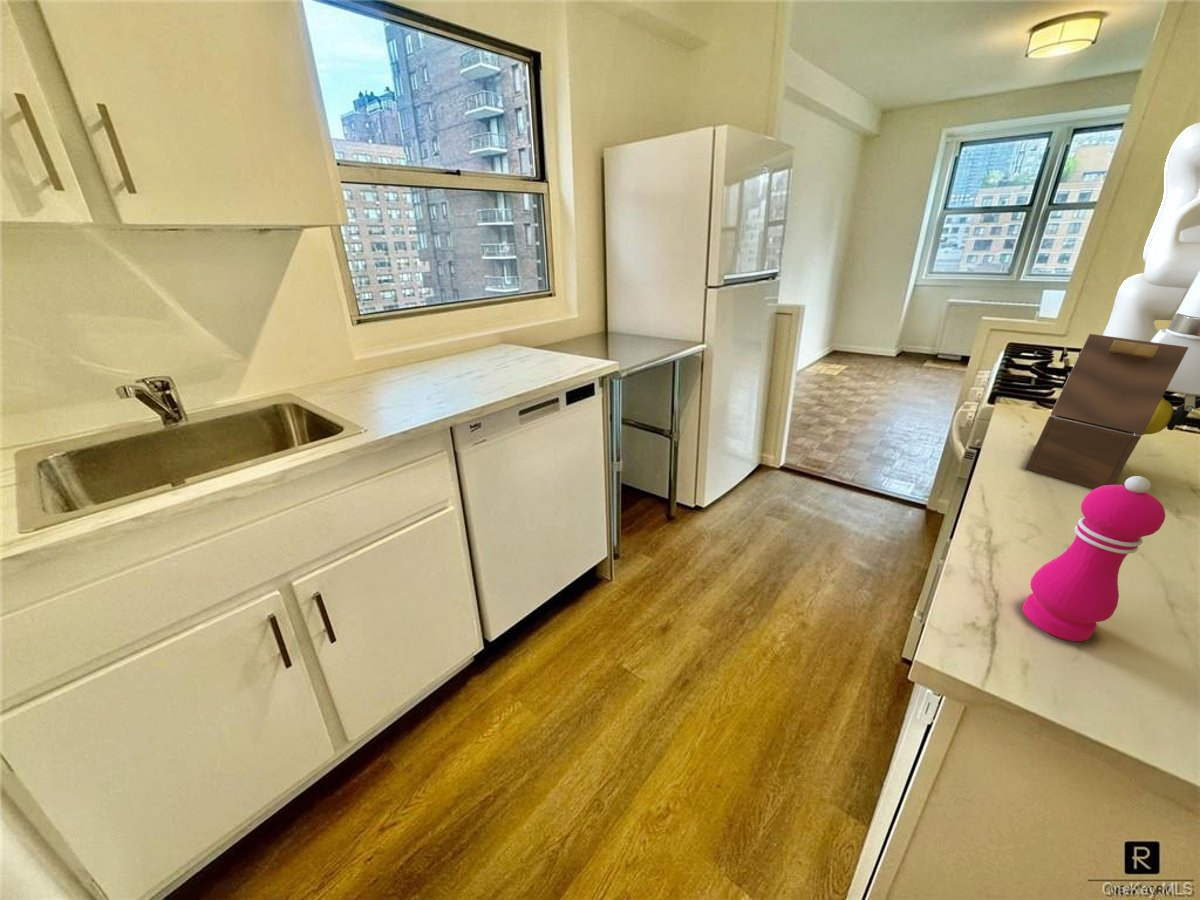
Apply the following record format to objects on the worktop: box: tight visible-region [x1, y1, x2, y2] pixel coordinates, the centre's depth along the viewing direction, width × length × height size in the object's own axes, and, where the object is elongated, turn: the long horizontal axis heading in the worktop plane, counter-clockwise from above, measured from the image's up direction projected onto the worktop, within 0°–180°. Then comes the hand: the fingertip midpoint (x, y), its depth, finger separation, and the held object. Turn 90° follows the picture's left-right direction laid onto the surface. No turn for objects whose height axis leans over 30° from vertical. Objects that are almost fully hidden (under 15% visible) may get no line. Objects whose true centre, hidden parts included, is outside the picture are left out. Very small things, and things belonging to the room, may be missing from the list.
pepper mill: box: [1022, 475, 1166, 642], centre depth 53 cm, size 7×7×20 cm
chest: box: [1024, 414, 1142, 490], centre depth 89 cm, size 14×12×11 cm
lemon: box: [1141, 396, 1175, 437], centre depth 90 cm, size 6×6×8 cm
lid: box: [1050, 333, 1189, 436], centre depth 79 cm, size 14×12×6 cm
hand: (1146, 421), depth 91 cm, fingers closed on lemon, 5 cm apart
